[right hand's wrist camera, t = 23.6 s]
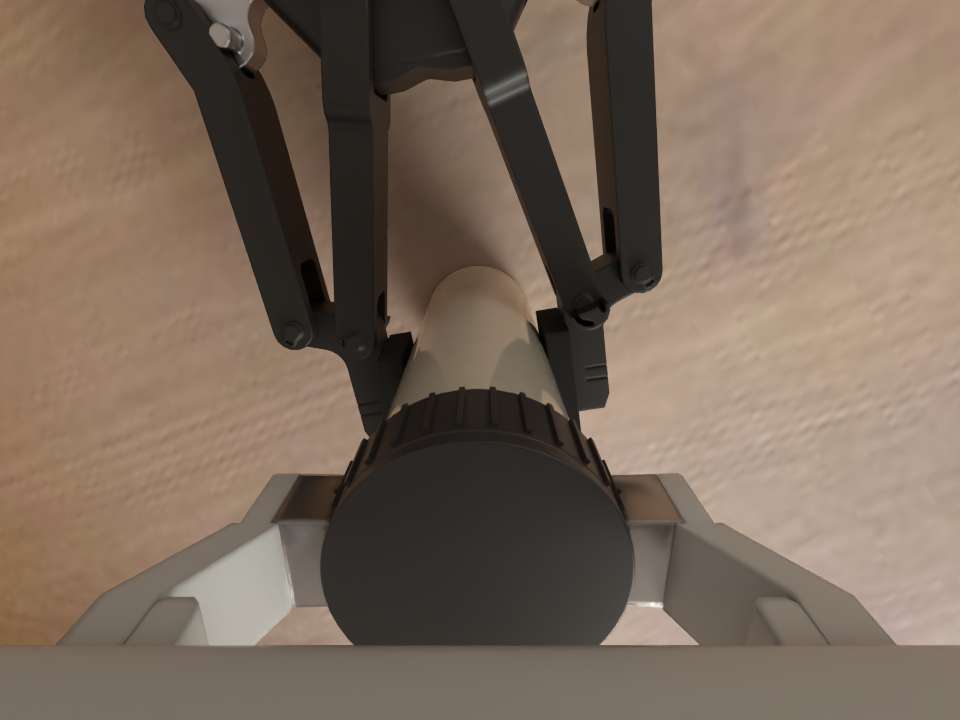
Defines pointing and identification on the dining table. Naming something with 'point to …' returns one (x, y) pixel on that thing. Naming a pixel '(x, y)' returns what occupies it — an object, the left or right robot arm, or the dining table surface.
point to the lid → (477, 529)
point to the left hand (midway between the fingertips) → (502, 495)
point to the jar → (478, 342)
